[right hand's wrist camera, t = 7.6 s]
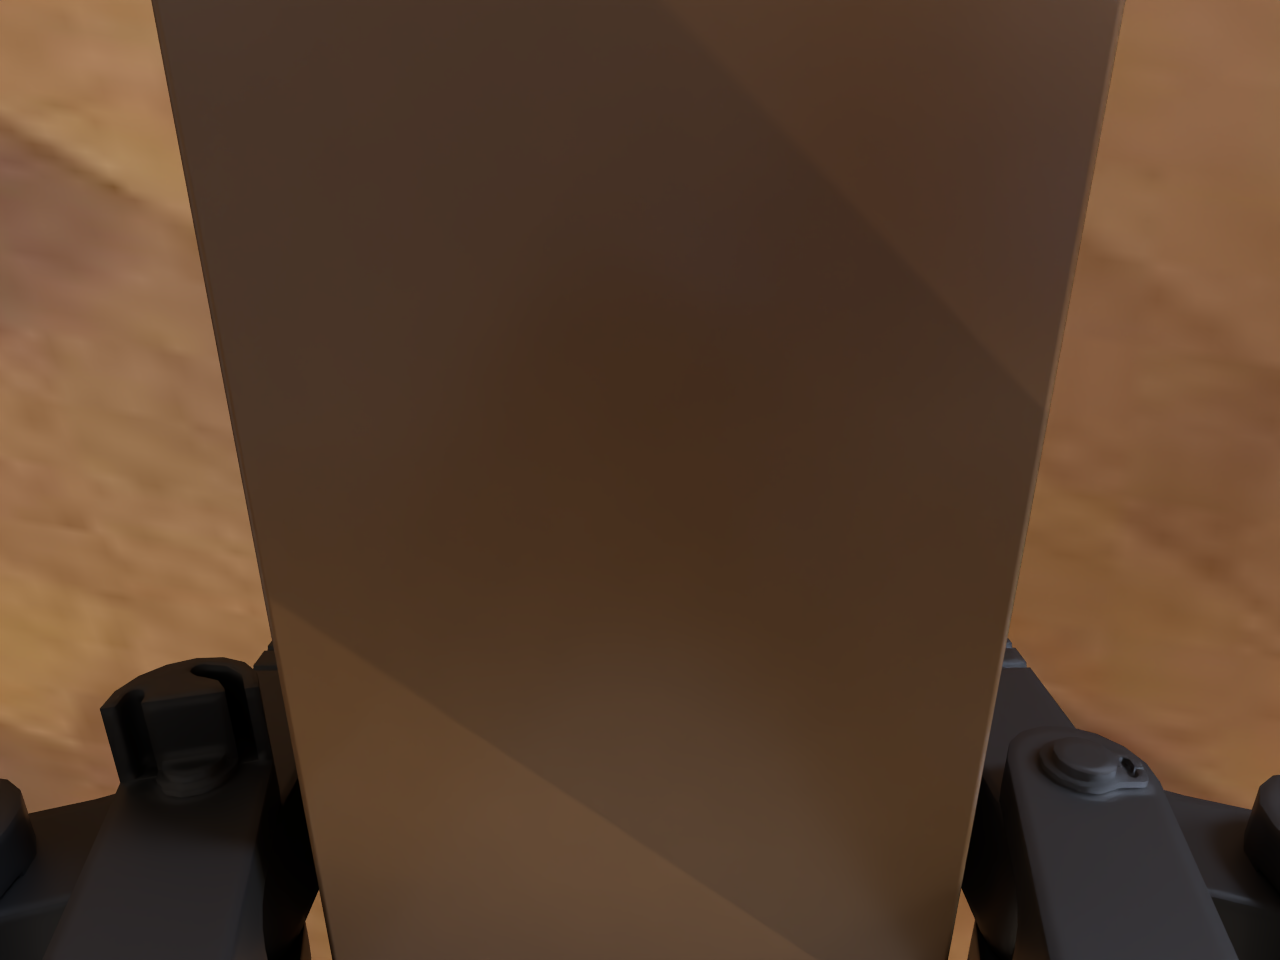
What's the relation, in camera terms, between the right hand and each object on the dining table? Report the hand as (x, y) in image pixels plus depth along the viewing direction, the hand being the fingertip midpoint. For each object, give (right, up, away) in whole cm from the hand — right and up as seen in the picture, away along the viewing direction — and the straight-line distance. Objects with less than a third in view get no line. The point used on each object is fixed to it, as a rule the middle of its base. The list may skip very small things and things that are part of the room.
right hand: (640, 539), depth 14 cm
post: (0, +18, -6) cm, 19 cm away
